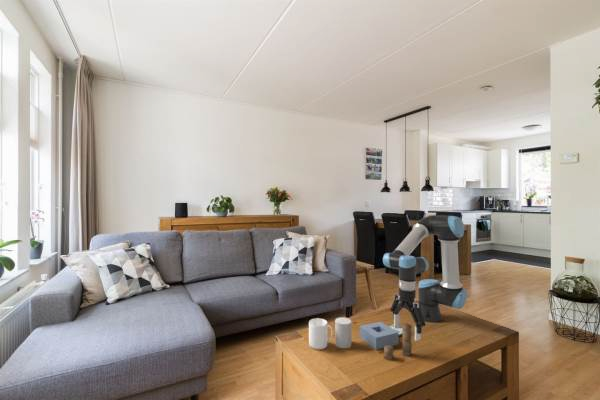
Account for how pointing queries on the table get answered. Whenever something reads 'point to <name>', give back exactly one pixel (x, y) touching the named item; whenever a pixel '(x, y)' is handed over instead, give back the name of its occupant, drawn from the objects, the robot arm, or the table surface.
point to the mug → (319, 333)
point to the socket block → (379, 335)
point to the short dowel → (388, 352)
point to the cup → (343, 332)
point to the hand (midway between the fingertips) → (406, 333)
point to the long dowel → (406, 340)
